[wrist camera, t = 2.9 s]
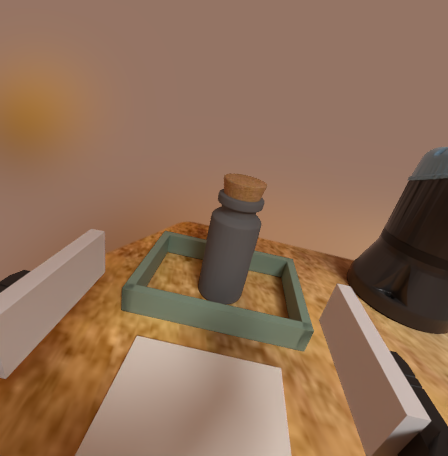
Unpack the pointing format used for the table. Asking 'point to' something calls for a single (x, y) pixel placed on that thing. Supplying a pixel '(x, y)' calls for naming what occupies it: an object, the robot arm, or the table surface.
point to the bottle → (231, 239)
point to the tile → (189, 406)
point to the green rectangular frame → (215, 312)
